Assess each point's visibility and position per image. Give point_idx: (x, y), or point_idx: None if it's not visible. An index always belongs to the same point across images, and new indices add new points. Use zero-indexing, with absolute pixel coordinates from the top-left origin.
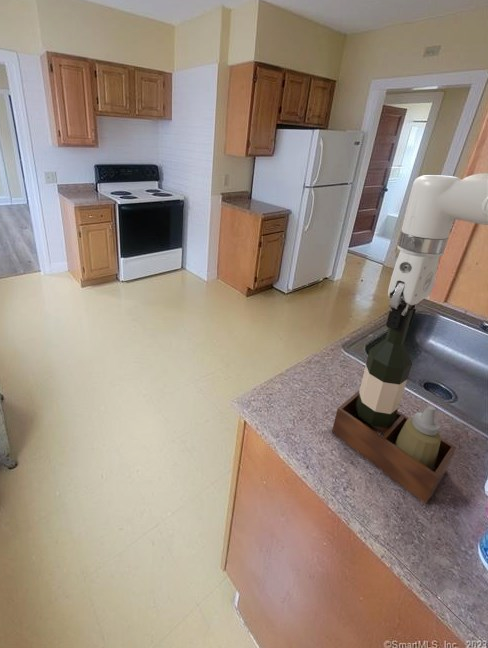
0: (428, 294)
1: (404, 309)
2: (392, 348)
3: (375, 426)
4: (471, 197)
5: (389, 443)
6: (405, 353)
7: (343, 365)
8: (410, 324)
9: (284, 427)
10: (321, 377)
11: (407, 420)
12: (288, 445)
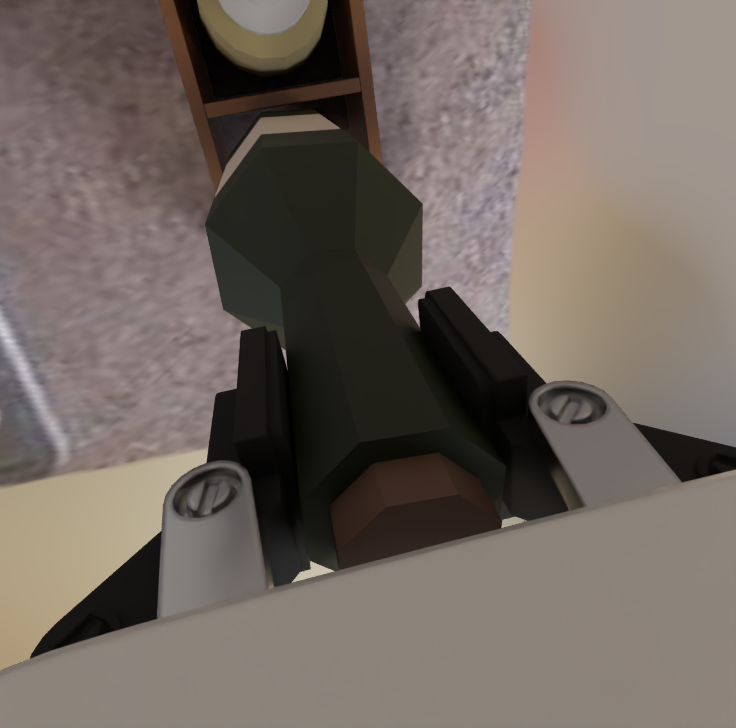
0: (90, 680)
1: (648, 448)
2: (394, 260)
3: None
4: None
5: (365, 54)
6: (310, 201)
7: (118, 404)
8: (266, 333)
9: (470, 289)
10: (236, 387)
11: (280, 53)
12: (503, 242)
